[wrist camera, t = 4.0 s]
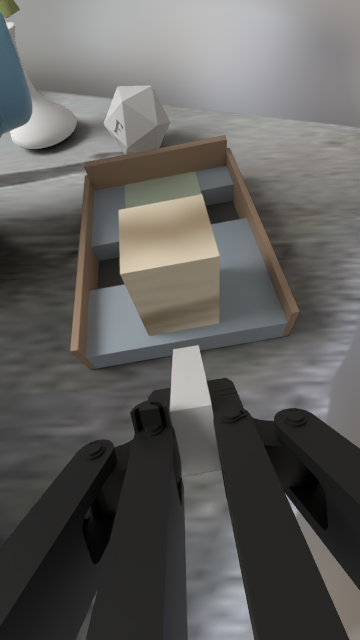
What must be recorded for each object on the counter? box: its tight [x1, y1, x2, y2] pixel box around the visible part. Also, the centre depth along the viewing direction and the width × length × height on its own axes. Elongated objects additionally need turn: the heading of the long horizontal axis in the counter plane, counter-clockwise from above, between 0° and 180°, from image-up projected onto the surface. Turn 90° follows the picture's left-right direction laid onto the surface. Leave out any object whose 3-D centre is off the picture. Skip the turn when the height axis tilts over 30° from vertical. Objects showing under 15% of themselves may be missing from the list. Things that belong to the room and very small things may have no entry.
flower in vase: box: [0, 0, 77, 149], centre depth 38 cm, size 13×11×25 cm
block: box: [119, 194, 220, 336], centre depth 21 cm, size 6×6×8 cm
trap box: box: [70, 135, 300, 369], centre depth 29 cm, size 24×18×6 cm
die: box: [104, 86, 170, 155], centre depth 40 cm, size 8×9×10 cm
